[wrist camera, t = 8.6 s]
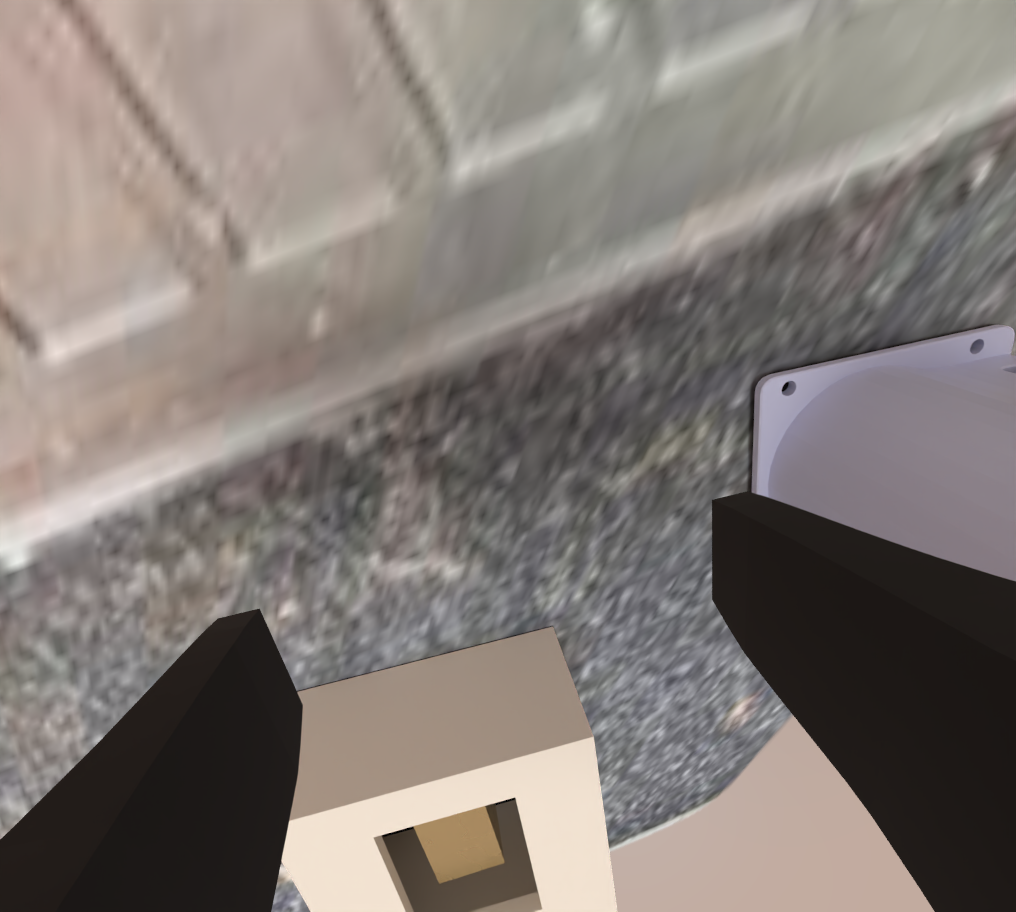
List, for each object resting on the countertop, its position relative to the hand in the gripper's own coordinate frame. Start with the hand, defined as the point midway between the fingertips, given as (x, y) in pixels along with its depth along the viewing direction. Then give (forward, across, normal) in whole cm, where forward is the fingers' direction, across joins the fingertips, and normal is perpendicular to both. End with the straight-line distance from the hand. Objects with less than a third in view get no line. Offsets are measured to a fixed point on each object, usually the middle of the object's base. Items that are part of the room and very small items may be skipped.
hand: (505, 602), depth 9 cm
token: (+10, +3, +14) cm, 18 cm away
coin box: (+9, +3, +14) cm, 18 cm away
